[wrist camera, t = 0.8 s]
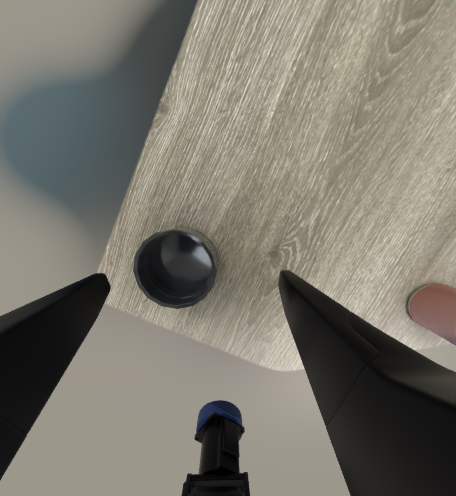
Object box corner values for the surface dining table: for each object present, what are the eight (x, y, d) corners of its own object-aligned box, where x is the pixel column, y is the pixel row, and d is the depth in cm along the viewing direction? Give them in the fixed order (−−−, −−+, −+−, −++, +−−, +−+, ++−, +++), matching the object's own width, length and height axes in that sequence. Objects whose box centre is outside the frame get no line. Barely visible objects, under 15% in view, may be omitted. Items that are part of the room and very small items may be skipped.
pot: (194, 303, 23) (188, 321, 19) (138, 269, 22) (119, 281, 18) (230, 251, 22) (231, 260, 18) (172, 213, 21) (159, 213, 17)
